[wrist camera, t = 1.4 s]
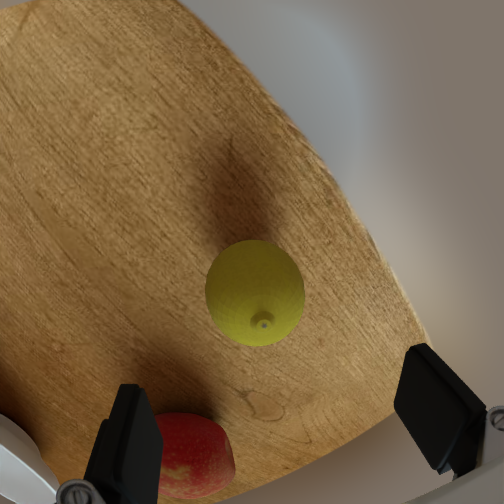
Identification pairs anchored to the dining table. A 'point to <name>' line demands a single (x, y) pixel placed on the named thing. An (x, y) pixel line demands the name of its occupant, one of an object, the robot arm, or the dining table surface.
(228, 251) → the lemon
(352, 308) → the dining table surface
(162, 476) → the apple
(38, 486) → the bowl
